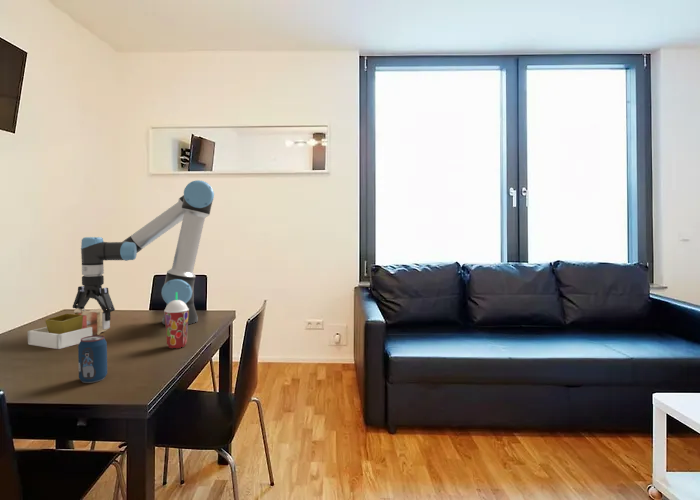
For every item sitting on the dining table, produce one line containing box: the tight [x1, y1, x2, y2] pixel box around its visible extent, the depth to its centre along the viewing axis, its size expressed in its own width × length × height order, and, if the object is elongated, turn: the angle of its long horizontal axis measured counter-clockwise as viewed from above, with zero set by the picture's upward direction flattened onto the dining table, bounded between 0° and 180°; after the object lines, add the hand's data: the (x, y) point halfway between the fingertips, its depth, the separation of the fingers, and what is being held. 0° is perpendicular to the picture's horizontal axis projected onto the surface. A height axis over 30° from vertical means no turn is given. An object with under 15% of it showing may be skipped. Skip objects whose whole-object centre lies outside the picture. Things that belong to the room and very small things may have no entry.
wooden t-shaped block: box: [73, 308, 108, 336], centre depth 167 cm, size 9×13×11 cm
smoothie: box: [163, 292, 189, 349], centre depth 151 cm, size 8×8×20 cm
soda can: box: [77, 334, 108, 384], centre depth 117 cm, size 7×7×12 cm
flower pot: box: [44, 313, 83, 334], centre depth 157 cm, size 9×9×9 cm
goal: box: [27, 326, 93, 350], centre depth 155 cm, size 16×13×5 cm
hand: (93, 327), depth 168 cm, fingers open, 13 cm apart
